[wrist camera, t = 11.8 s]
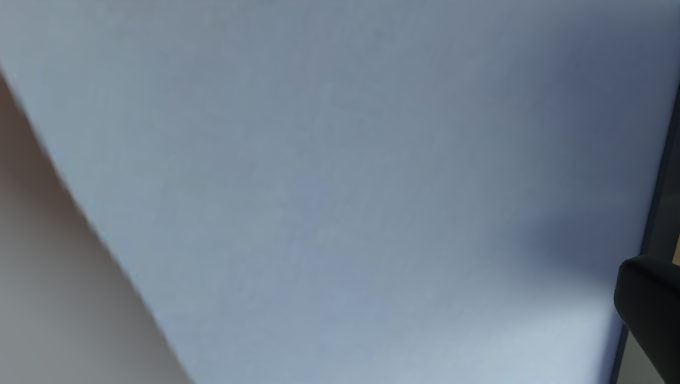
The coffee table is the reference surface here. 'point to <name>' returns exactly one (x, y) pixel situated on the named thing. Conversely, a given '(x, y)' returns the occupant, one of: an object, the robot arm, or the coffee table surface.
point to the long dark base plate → (656, 253)
